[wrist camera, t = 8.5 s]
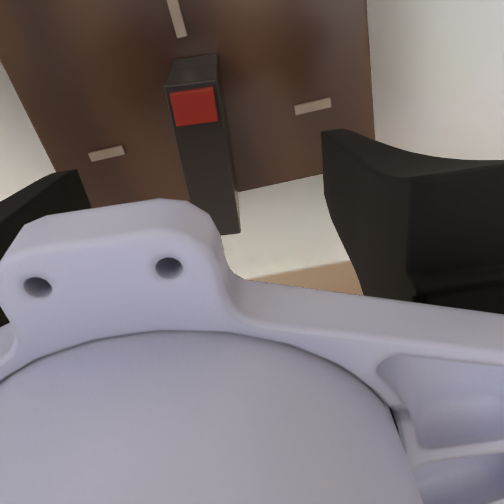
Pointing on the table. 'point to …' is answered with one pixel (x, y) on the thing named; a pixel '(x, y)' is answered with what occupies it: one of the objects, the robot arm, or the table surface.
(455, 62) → the table surface
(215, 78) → the dark grey red block
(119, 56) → the console
